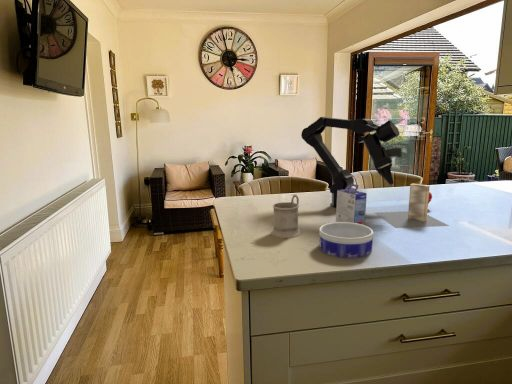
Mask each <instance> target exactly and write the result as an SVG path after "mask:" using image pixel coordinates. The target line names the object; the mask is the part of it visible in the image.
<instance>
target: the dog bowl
mask: <svg viewBox="0 0 512 384" xmlns="http://www.w3.org/2000/svg"><path fill="white" fill-rule="evenodd" d="M318 233H319V235H318V237H319V239H318V243H319V245H318V246H319V249H320V251H321V252H322V253H324V254H326V255H329V256H331V255H332V257H335V258H343V259H357V258H363V257H367V256H369V255H370V254H372V252H373V244H374V243H373V242H374V231H373V229H372V228H371V227H369V226H367V225H361V224H357V223H349V222H336V221H335V222H328V223H325V224H322V225H321V226H320V227H319V229H318Z"/></svg>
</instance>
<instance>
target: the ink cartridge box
mask: <svg viewBox="0 0 512 384" xmlns="http://www.w3.org/2000/svg"><path fill="white" fill-rule="evenodd" d="M359 186H360V185H359V184H355V183H354V184H351V186H350V187H349V189H342V190H337V208H335V210H336V211H335V222H349V223H357V224H361V225H365V224H366V210H367V208H366V207H367V195H368V194H367V193H366V192H363V191H358V188H359ZM354 187H355V188H354ZM365 226H366V225H365Z"/></svg>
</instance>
